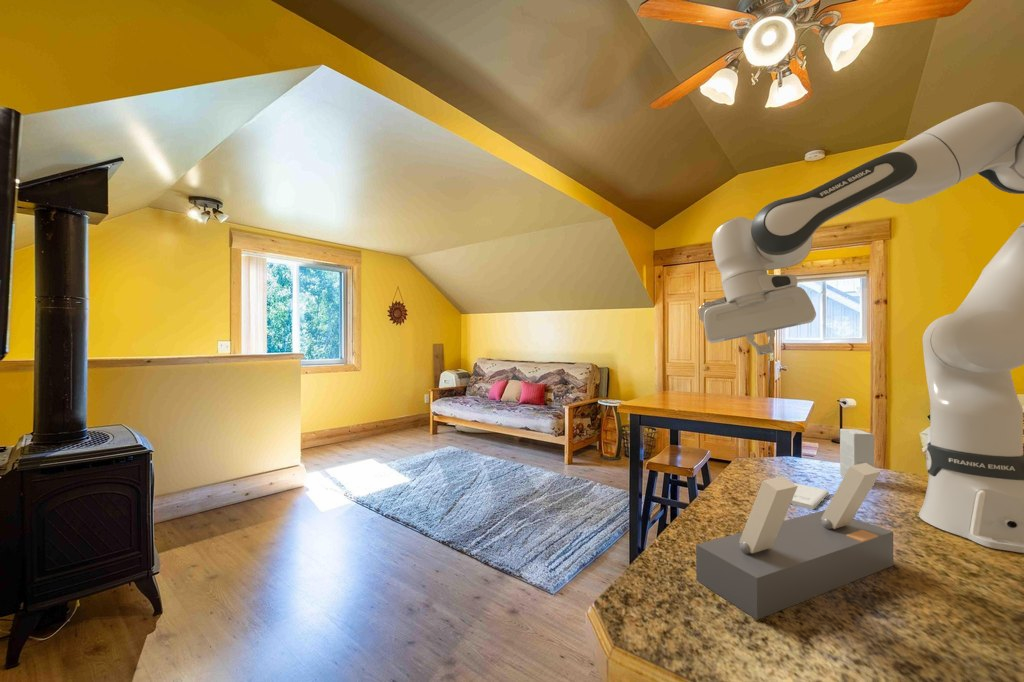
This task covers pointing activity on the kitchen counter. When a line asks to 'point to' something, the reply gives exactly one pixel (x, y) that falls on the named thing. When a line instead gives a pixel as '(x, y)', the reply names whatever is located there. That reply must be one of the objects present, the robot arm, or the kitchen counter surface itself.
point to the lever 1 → (767, 514)
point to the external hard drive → (808, 496)
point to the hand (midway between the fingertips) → (765, 353)
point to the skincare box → (855, 449)
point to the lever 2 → (849, 495)
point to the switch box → (793, 563)
